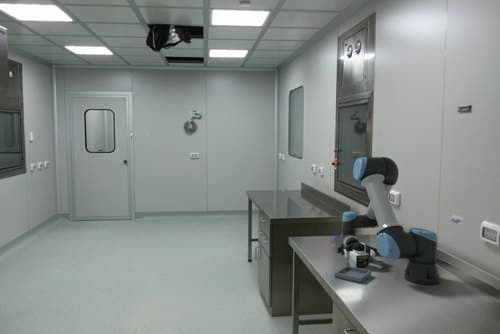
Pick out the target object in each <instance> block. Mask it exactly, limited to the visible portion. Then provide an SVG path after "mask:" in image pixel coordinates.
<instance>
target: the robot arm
mask: <svg viewBox="0 0 500 334" xmlns="http://www.w3.org/2000/svg"><path fill="white" fill-rule="evenodd" d="M352 169H353V170H352V172H353V173H352V176H353V178H354V180H355V181H360V185H361V187H363V188H365V190H366V192H367V195H368V199H369V204H368V207H367V209H366V211H365V213H364V214H357V213H356V212H354V211H344V212H343V213H342V219H341V221H342V223H341V224H342V227H341V228H342V231H341V235H340V240H341V242H342V243H341V244H340V246H339V247H336V248H337V250H336V251H337V254H340V256H344V257H345V259H348V256H349V255H348V252H349V253H350V251H353V244H354V243H356V242H360V241H359V239H357V237H356V236H357V235H356V234H357V233H356V232H357V231H356V230H357V229H375V228H378V229H379V230H378V231H377V233H378V235H377V234H376V235H377V236H376V238H375V242H376V243H375V246H376V248H375V247H372V246H370V245H368V244H366V243H364V244H365V245H366V250H365V253H367V254H369V256H371V257H372V259H376V255H378V253H379V255H380V256H381V257H382V258H384V259H386V260H394V261H396V260H403V259H408V262H407V264H406V266H405V270H404V272H403V274H404V275H403V278H404V279H405V280H406V281H409V282H411V283H413V284H418V285H426V286H427V285H428V286H431V285H437V284H440V282H441V280H440V279H441V278H440V274H439V270H438V267H437V249H438V247H437V246H438V236H437V235H438V234H437V233H436V232H434V231H433V230H429V229H425V228H419V227H411V228H409V230H408V232H407V231H406V232H405V228H404V227H403V225H402V224H399V222H398V220H397V217H396V215H395V212H394V209H393V206H392V204H391V203H392V202H391V201H390V199H389V195H390V192H391V190H392V188H393V186H395V185H396V184H397V182H398V180H399V168H398V165H397V163H396V162H395V161H394V159H392V158H390V157H387V156H379V157H378V156H373V157H372V156H371V157H368V156H364V157H358V158H357V159H356V160H355V162H354V164H353V168H352Z"/></svg>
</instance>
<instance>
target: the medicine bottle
mask: <svg viewBox="0 0 500 334" xmlns="http://www.w3.org/2000/svg"><path fill="white" fill-rule="evenodd" d="M365 244H366V243H364V242H361V241H359V242H356V243H354V244H353V251H350V252H349V255H348V256H349V262H348V266H351V267H355V268H360V269H369V266H370V254H369V253H366V252H365V250H366V245H367V244H366V245H365Z"/></svg>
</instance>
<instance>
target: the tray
mask: <svg viewBox="0 0 500 334" xmlns="http://www.w3.org/2000/svg"><path fill="white" fill-rule="evenodd" d="M371 277H372V270H368V269H366V268H363V269H360V268H355V267H352V266H350V265H345V266H343V267H342V268H340V269H338V270H337V271H335V272H334V278H335V279H339V280H343V281H347V282H352V283H355V284H358V285H359V284H360V285H361V284H362V283H364V282H366V281H367V280H368V279H369V278H371Z"/></svg>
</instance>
